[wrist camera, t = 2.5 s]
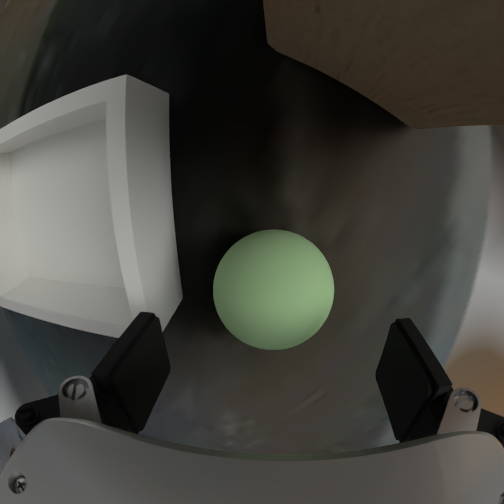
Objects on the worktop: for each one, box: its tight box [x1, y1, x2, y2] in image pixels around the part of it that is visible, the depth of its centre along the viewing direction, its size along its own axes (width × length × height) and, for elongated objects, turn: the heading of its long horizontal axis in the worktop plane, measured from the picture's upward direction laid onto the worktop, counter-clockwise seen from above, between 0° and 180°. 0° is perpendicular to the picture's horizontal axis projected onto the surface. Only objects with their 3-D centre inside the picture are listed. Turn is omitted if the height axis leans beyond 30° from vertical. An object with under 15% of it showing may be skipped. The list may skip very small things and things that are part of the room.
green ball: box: [213, 229, 334, 350], centre depth 13 cm, size 6×6×6 cm
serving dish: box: [0, 74, 183, 338], centre depth 14 cm, size 13×16×5 cm
